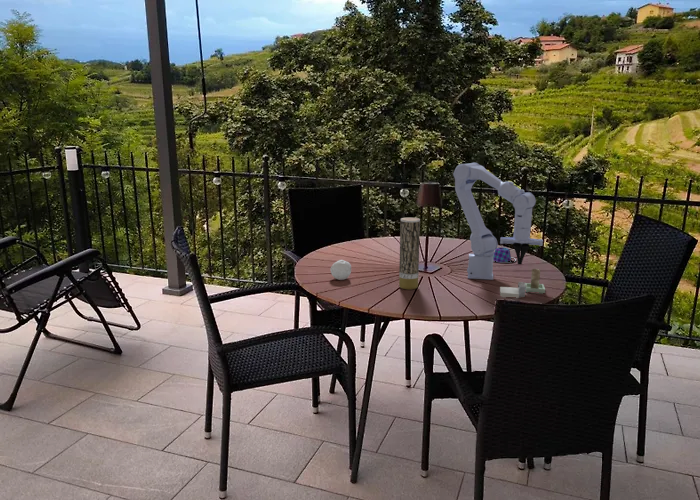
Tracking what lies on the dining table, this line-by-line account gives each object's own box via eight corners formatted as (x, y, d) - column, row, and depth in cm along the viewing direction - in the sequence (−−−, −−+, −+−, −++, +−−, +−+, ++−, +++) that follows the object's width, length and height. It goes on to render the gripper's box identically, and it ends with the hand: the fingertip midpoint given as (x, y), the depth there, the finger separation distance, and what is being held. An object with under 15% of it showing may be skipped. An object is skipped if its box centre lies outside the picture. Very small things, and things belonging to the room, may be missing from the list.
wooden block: (518, 297, 188) (519, 286, 187) (517, 292, 193) (518, 281, 192) (524, 297, 188) (525, 286, 187) (523, 293, 192) (524, 282, 192)
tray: (525, 292, 194) (526, 288, 193) (524, 286, 200) (524, 282, 199) (544, 293, 192) (545, 289, 192) (543, 288, 198) (543, 284, 198)
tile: (500, 298, 189) (500, 292, 188) (499, 292, 195) (499, 286, 195) (518, 299, 187) (518, 293, 187) (517, 293, 194) (517, 287, 194)
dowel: (530, 289, 195) (532, 270, 193) (530, 287, 197) (531, 268, 196) (538, 290, 194) (540, 271, 192) (538, 288, 197) (540, 269, 195)
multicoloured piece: (522, 262, 234) (523, 250, 233) (500, 265, 229) (501, 253, 228) (502, 255, 245) (503, 244, 244) (481, 259, 239) (482, 247, 238)
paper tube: (405, 283, 204) (407, 216, 198) (421, 287, 199) (423, 218, 193) (395, 287, 199) (396, 219, 193) (411, 291, 194) (413, 221, 188)
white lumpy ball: (347, 275, 213) (347, 256, 212) (354, 281, 206) (354, 261, 205) (328, 277, 211) (327, 258, 209) (334, 283, 204) (334, 263, 202)
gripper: (501, 228, 195) (498, 265, 198) (544, 230, 191) (541, 267, 195) (501, 224, 202) (498, 260, 205) (543, 226, 198) (539, 262, 201)
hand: (519, 263), depth 200 cm, fingers closed
